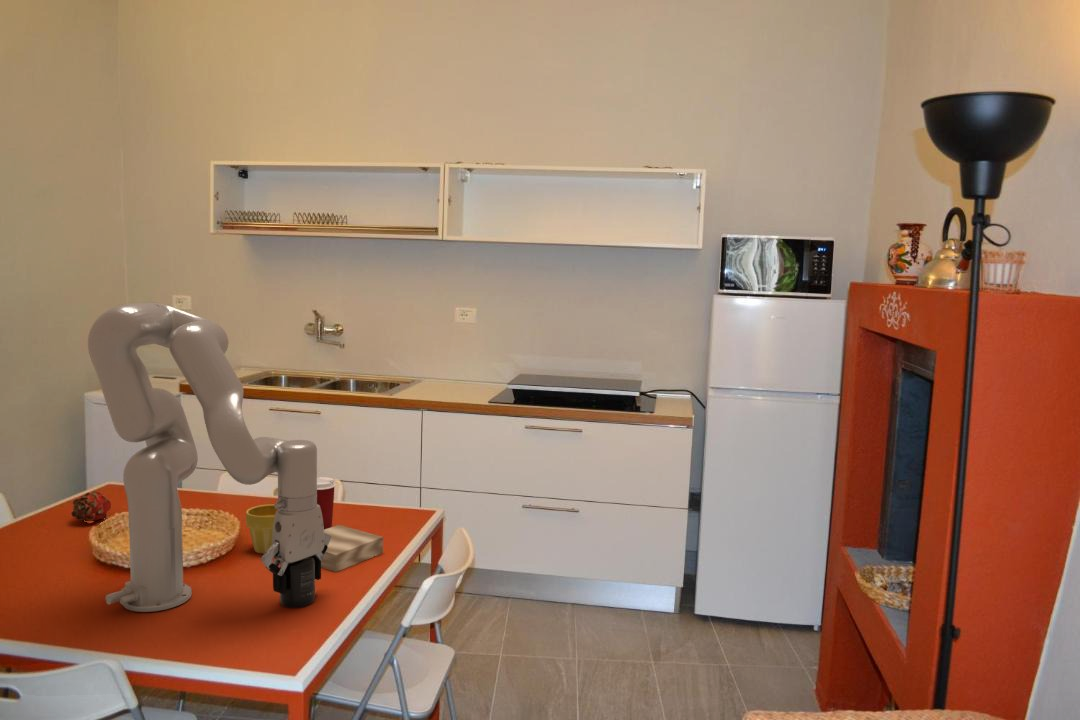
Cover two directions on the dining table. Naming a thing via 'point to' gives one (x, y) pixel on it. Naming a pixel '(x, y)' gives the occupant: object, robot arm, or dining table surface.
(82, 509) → the dragon fruit
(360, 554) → the beech block
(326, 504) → the paper cup
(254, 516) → the plant pot
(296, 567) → the supplement bottle
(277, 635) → the dining table surface
